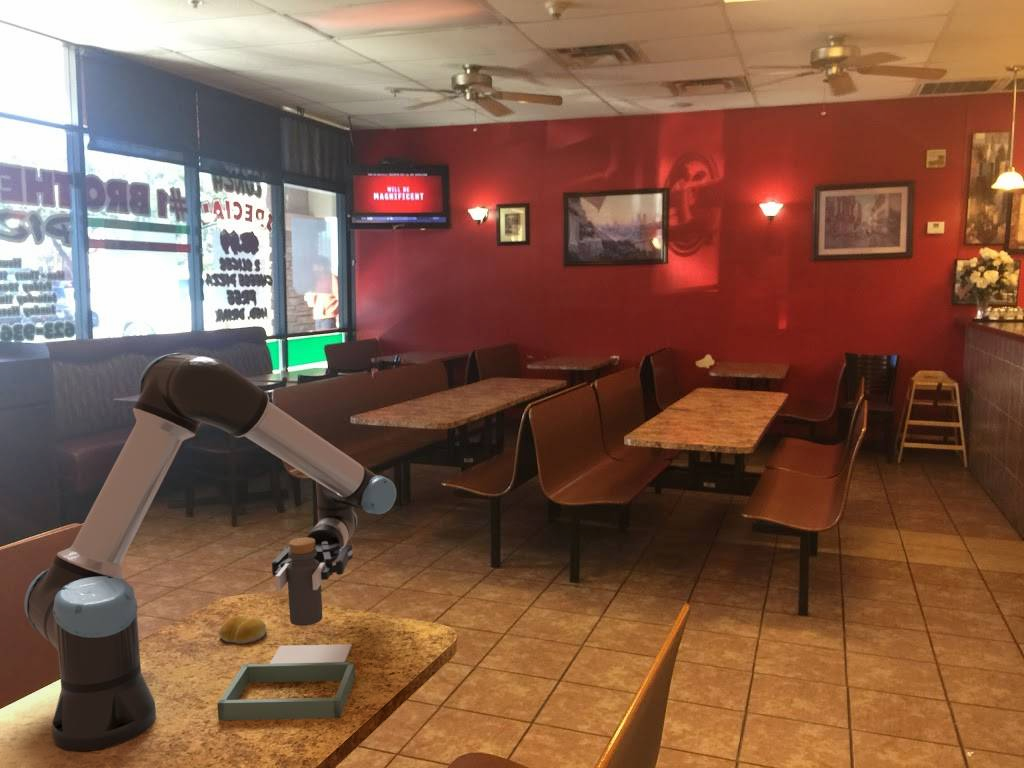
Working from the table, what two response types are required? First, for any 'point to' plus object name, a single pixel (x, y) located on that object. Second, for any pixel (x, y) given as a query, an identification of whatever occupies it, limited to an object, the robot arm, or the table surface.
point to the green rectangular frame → (287, 707)
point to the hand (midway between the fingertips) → (296, 582)
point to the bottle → (303, 583)
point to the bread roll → (242, 629)
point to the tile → (311, 653)
